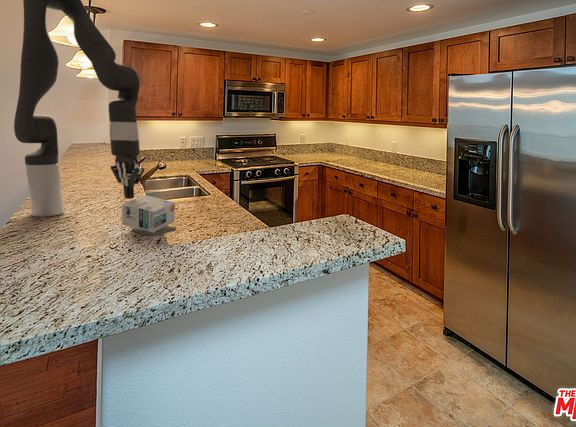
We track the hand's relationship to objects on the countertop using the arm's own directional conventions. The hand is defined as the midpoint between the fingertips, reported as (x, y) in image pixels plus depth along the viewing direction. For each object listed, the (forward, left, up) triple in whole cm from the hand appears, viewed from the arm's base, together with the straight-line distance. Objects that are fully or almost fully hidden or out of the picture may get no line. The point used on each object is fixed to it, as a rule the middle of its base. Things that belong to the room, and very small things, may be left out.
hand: (129, 198), depth 108 cm
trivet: (+7, +3, -9) cm, 12 cm away
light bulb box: (0, +1, -3) cm, 3 cm away
